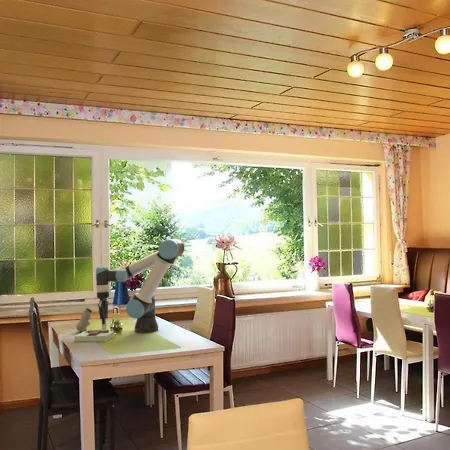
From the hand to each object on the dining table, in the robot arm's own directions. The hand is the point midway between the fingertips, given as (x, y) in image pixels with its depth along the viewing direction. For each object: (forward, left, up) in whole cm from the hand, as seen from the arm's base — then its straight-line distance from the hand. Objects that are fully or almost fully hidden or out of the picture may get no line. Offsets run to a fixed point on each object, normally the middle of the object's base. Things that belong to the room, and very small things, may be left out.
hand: (104, 329), depth 331 cm
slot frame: (+1, +15, -3) cm, 15 cm away
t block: (+1, +13, -3) cm, 13 cm away
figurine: (+16, -7, -3) cm, 18 cm away
